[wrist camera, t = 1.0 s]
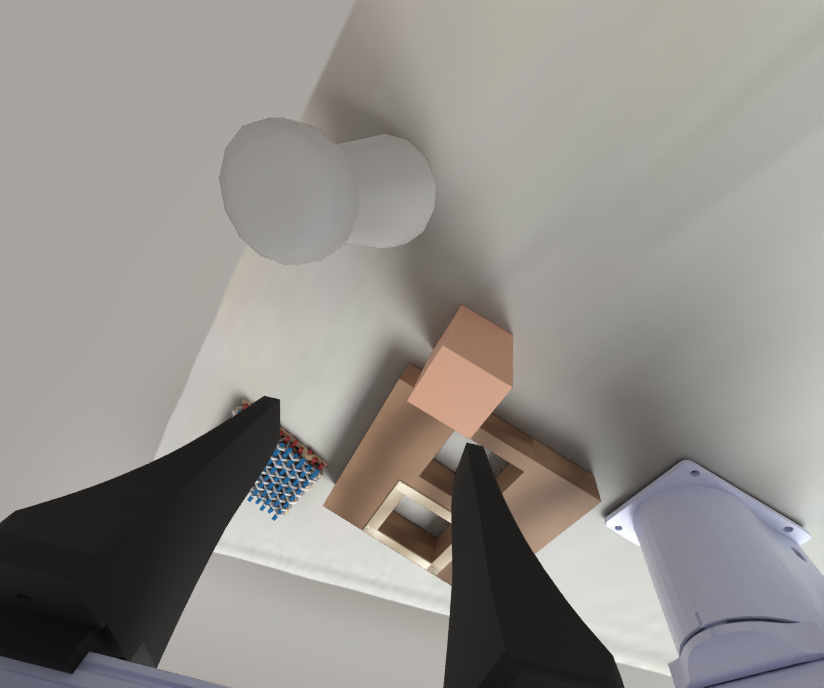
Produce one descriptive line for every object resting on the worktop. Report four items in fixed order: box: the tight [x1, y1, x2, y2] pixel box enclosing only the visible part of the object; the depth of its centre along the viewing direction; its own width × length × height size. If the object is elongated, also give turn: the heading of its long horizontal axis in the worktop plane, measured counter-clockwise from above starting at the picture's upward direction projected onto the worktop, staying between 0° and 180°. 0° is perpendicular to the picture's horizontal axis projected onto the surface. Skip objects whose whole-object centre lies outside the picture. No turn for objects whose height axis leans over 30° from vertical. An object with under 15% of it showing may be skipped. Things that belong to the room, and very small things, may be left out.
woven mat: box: [231, 399, 328, 521], centre depth 34 cm, size 10×11×2 cm
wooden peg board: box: [323, 363, 601, 586], centre depth 29 cm, size 16×16×3 cm
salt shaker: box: [219, 118, 436, 265], centre depth 16 cm, size 6×6×13 cm
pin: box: [407, 305, 513, 439], centre depth 21 cm, size 4×4×7 cm
